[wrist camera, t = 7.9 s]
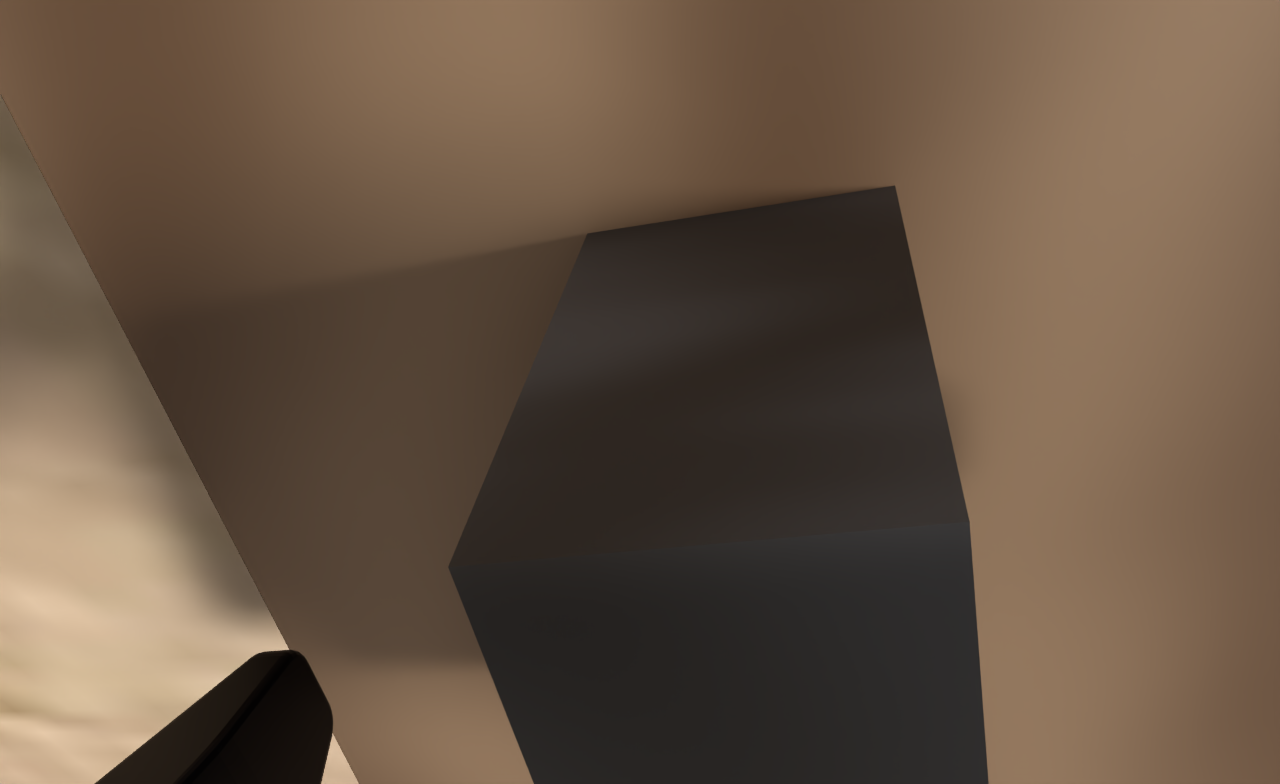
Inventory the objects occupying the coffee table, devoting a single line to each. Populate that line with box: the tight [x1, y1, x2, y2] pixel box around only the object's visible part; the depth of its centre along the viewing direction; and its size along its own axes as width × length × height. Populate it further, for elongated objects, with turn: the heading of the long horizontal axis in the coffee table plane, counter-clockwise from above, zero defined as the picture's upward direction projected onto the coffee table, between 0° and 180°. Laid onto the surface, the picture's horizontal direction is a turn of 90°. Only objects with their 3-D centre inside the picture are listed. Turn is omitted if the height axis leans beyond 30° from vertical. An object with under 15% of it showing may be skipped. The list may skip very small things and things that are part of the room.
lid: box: [0, 0, 1280, 784], centre depth 10 cm, size 14×14×6 cm
